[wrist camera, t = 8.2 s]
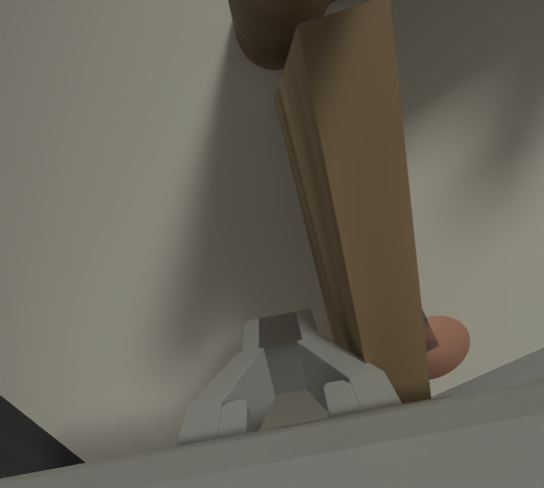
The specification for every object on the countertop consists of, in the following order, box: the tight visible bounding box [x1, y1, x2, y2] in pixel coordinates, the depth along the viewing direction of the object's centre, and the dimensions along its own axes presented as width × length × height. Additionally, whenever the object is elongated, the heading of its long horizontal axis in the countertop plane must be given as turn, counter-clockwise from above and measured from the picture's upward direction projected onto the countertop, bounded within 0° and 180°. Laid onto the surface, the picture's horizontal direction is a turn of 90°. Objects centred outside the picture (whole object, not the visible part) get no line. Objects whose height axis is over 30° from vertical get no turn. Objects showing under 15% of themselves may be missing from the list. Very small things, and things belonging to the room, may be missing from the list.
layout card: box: [0, 0, 544, 463], centre depth 13 cm, size 28×41×1 cm
